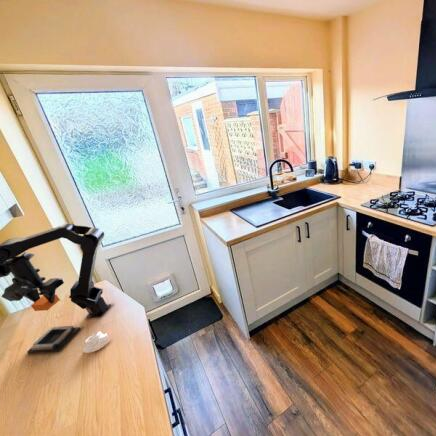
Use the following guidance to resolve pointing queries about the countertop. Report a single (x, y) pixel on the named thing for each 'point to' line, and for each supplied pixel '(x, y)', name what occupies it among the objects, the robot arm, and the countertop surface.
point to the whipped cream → (95, 342)
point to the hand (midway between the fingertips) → (46, 303)
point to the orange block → (44, 304)
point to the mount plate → (54, 339)
